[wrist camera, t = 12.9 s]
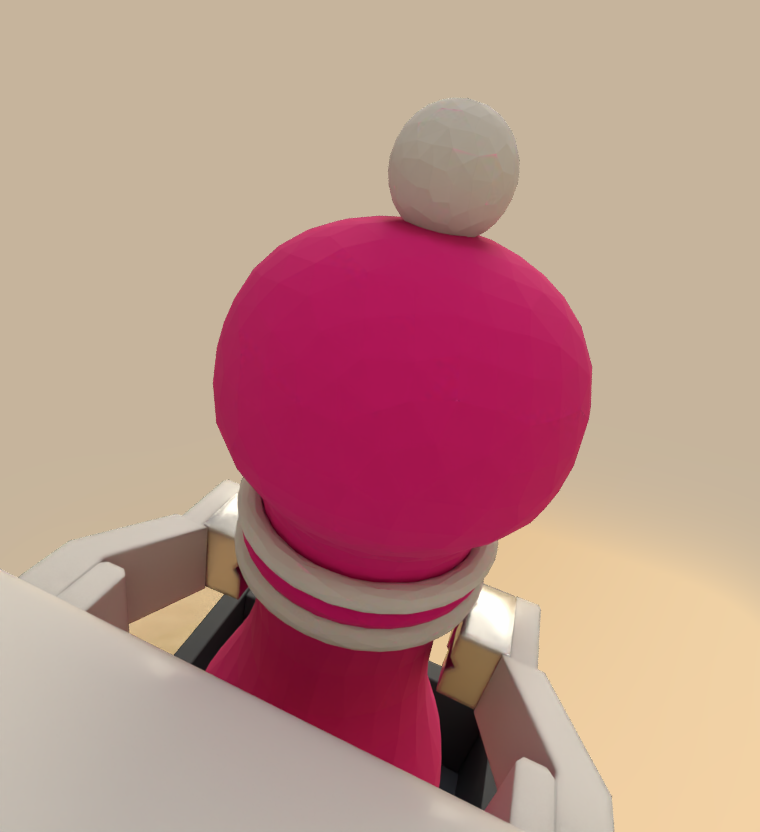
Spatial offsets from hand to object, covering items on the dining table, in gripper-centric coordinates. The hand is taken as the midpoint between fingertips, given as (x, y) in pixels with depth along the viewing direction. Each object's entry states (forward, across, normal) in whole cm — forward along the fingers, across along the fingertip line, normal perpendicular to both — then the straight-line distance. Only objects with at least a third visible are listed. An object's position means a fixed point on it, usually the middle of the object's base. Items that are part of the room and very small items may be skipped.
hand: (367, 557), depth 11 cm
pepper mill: (-1, 0, +11) cm, 11 cm away
